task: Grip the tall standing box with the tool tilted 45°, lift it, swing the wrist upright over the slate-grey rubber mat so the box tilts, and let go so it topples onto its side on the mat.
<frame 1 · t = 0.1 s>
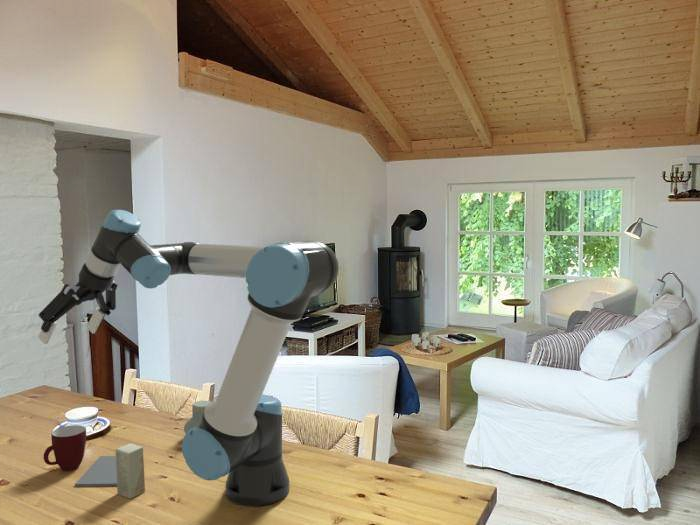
hand: (67, 335, 145), 36 cm above the table, tool tilted 35°, fingers open, 13 cm apart
box: (130, 493, 138), on the table
mat: (110, 471, 149), on the table
air freshener: (203, 437, 173), on the table
mug: (66, 470, 150), on the table
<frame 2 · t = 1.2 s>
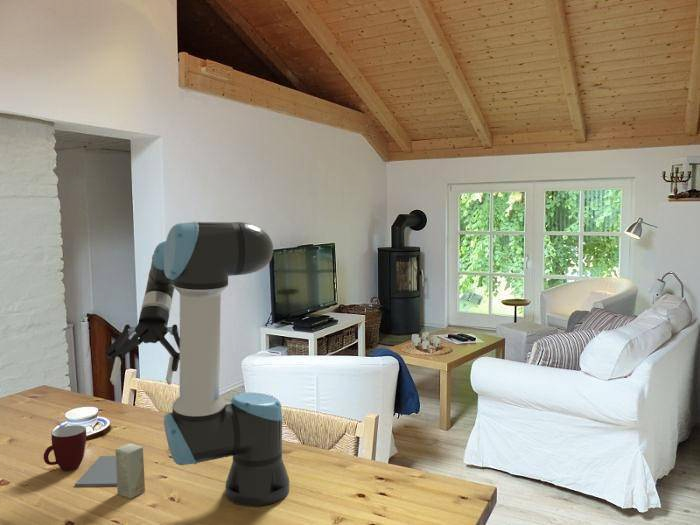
hand: (140, 382, 146), 24 cm above the table, tool tilted 45°, fingers open, 13 cm apart
nothing on the table moved.
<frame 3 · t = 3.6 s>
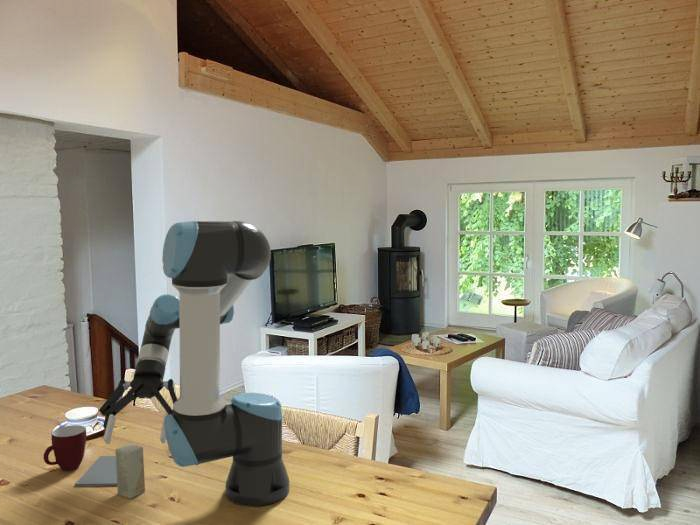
hand: (134, 441, 143), 10 cm above the table, tool tilted 45°, fingers open, 13 cm apart
nothing on the table moved.
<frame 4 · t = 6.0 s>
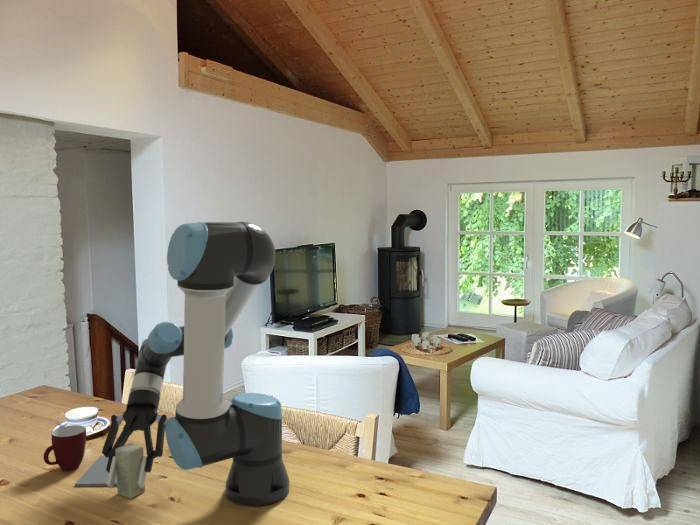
hand: (125, 485, 134), 3 cm above the table, tool tilted 45°, fingers closed on box, 6 cm apart
box: (130, 493, 138), on the table, touching gripper
everything else where it was.
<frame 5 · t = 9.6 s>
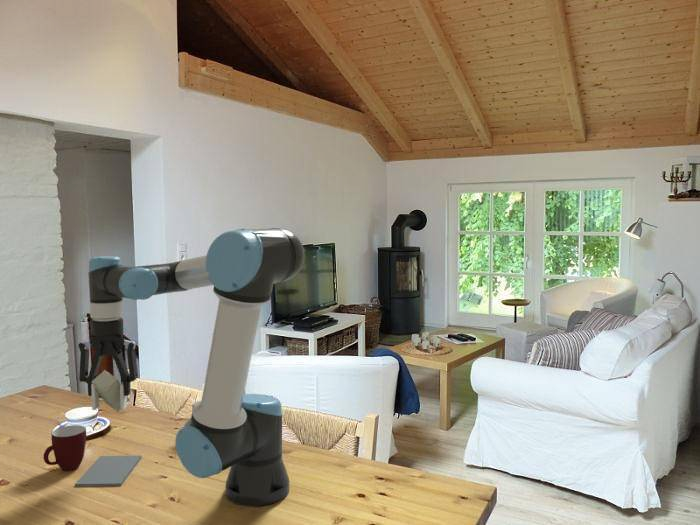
hand: (109, 407, 147), 17 cm above the table, tool pointing down, fingers closed on box, 6 cm apart
box: (117, 401, 153), point 17 cm above the table, touching gripper
everything else where it was.
when the fingers open (3 cm above the table, at t = 12.9 s): box moves 3 cm, resting on mat.
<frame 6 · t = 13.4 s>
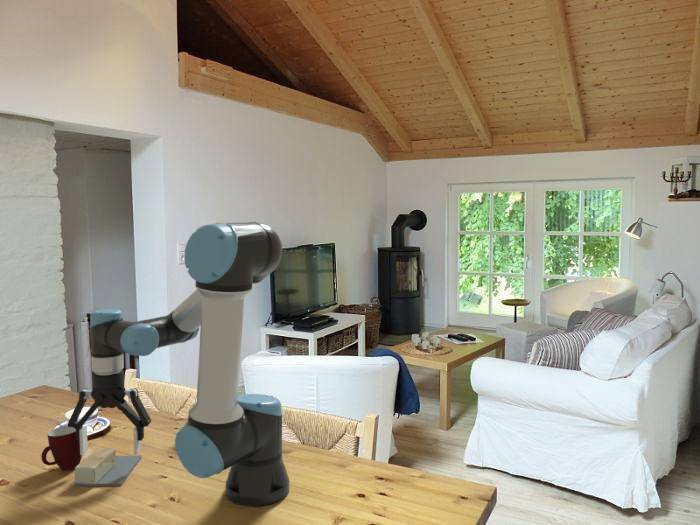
hand: (110, 452, 148), 5 cm above the table, tool pointing down, fingers open, 13 cm apart
box: (106, 456, 152), point 3 cm above the table, touching mat
mug: (66, 470, 150), on the table, touching gripper
everything else where it was.
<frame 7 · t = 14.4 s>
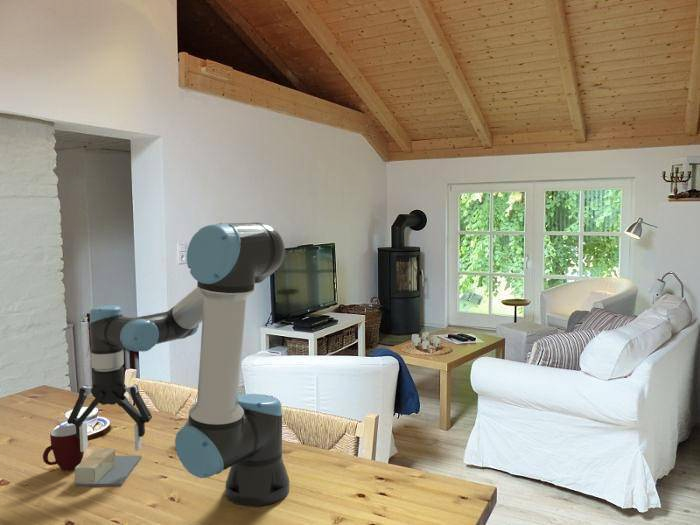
hand: (111, 449, 148), 6 cm above the table, tool pointing down, fingers open, 13 cm apart
nothing on the table moved.
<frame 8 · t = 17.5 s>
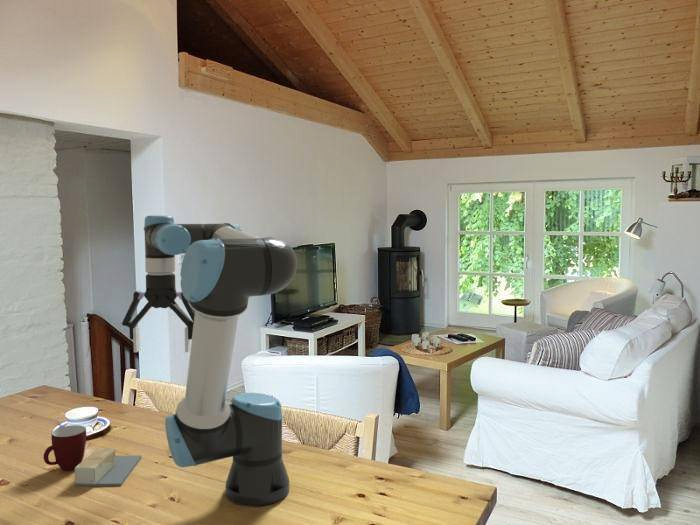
hand: (162, 351, 158), 29 cm above the table, tool pointing down, fingers open, 13 cm apart
mug: (66, 470, 150), on the table
everything else where it was.
at the end: box tilted 90°; box inside the target area on the mat (2.9 cm from its centre), point 2.7 cm above the mat's base; the gripper is holding nothing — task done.
